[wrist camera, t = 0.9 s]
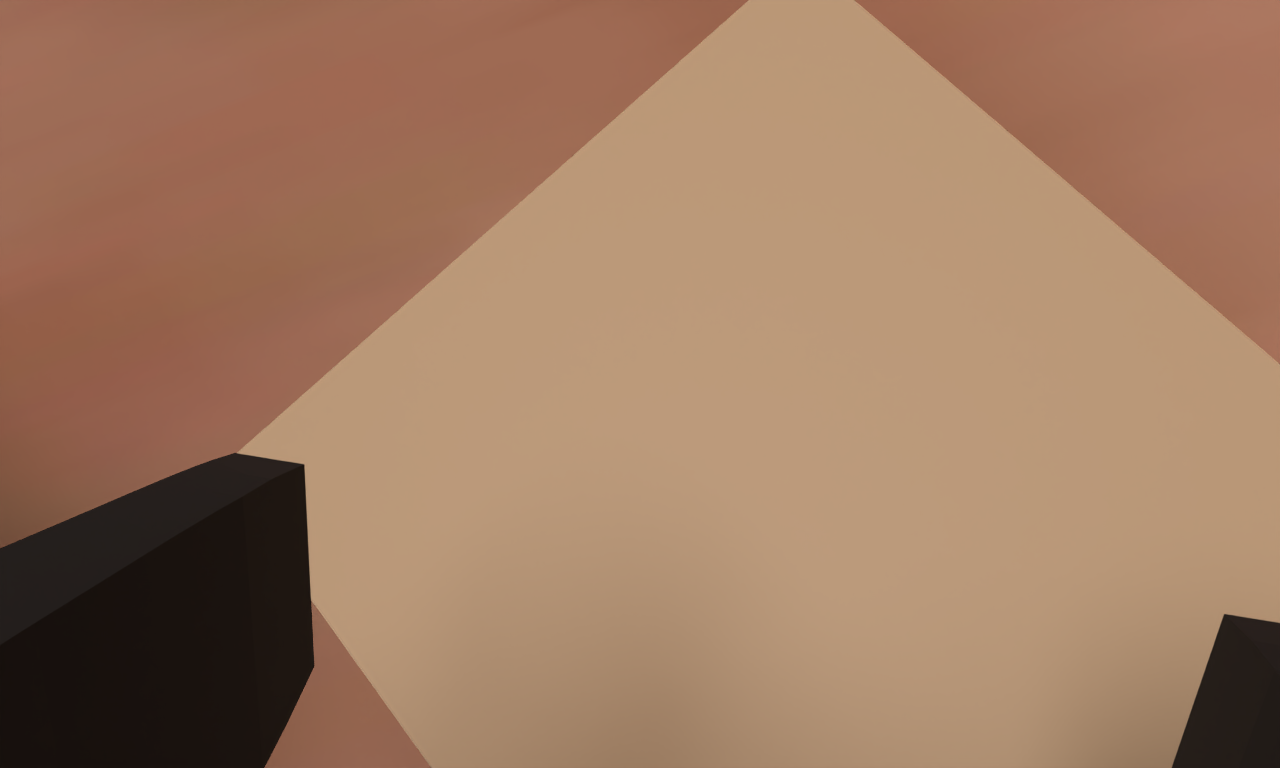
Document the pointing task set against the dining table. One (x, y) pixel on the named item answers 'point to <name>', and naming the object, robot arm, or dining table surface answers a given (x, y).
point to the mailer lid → (794, 446)
